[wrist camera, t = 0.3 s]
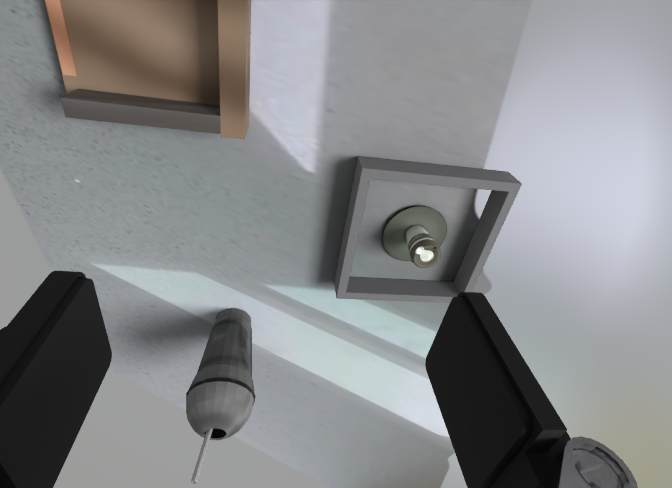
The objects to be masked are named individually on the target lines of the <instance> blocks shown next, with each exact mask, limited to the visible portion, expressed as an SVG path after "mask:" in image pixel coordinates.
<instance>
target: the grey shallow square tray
mask: <svg viewBox="0 0 672 488" xmlns="http://www.w3.org/2000/svg"><path fill="white" fill-rule="evenodd" d="M370 179H380V180H391V181H401V182H412V183H423V184H433V185H444V186H454V187H465V188H476V189H486V190H492V191H491V194H490V196H489V199H488V201H487V203H486V206H485V208H484V210H483V213H482V215H481V218H480V220H479V222H478V225H477V227H476V229H475V232H474V234H473V237H472V239H471V241H470V244H469V246H468V249H467V251H466V253H465V256H464V258H463V261H462V263H461V265H460V268H459V270H458V273H457V275H456V277H455V280H454V282H444V281H424V280H404V279H383V278H363V277H349V276H350V271H351V267H352V262H353V258H354V253H355V248H356V244H357V239H358V234H359V230H360V225H361V220H362V216H363V211H364V206H365V202H366V197H367V192H368V188H369V183H370ZM521 185H522V184H521V183H520V182H519V181H518V180H517V179H516V178H515V177H514V176H512V175H511V174H510V173H509V172H505V171H496V170H486V169H476V168H467V167H457V166H448V165H438V164H428V163H419V162H409V161H399V160H390V159H380V158H370V157H361V156H358V158H357V164H356V169H355V174H354V179H353V185H352V190H351V195H350V201H349V206H348V211H347V217H346V222H345V227H344V233H343V238H342V243H341V249H340V254H339V259H338V265H337V270H336V275H335V281H334V284H335V291H336V298H341V299H366V300H391V301H416V302H441V303H450V302H451V300H452V298H453V297H457V296H458V294H459V293H460V292H472V291H473V288H474V286H475V284H476V282H477V280H478V278H479V275H480V273H481V271H482V269H483V267H484V265H485V262H486V260H487V258H488V256H489V254H490V252H491V249H492V247H493V245H494V243H495V241H496V238H497V237H498V234H499V232H500V230H501V228H502V226H503V224H504V221H505V219H506V217H507V215H508V213H509V211H510V208H511V206H512V204H513V202H514V200H515V198H516V195H517V193H518V191H519V189H520V187H521Z"/></svg>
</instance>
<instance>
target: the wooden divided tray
mask: <svg viewBox="0 0 672 488" xmlns="http://www.w3.org/2000/svg"><path fill="white" fill-rule="evenodd" d="M44 1H45V5H46V9H47V14H48V18H49V22H50V26H51V30H52V34H53V39H54V43H55V47H56V51H57V55H58V59H59V64H60V68H61V72H62V76H63V80H64V84H65V88H66V93H67V95H65V96H63V97H61V101H62V105H63V109H64V113H65V117H69V118H78V119H88V120H97V121H106V122H116V123H125V124H134V125H143V126H153V127H162V128H171V129H181V130H190V131H199V132H209V133H218V134H221V137H229V138H238V139H245V137H246V133H247V129H248V126H249V86H250V31H251V0H44Z"/></svg>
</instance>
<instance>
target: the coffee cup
mask: <svg viewBox="0 0 672 488" xmlns="http://www.w3.org/2000/svg"><path fill="white" fill-rule="evenodd" d="M446 233H447V224H446V221H445V219H444V217H443V216H442V215H441V214H440V213H439V212H438V211H436V210H434V209H432V208H429V207H425V206H417V207H412V208H408V209H406V210H403V211H401V212H400V213H398V214H397V215H395V216H394V217H393V218H392V219H391V220H390V221H389V223H388V224H387V226H386V227H385V230H384V233H383V244H384V247H385V249H386V251H387V252H388V253H389V254H390V255H391V256H392V257H394V258H396V259H398V260H402V261H412V262H413V263H414V264H415V265H416V266H418V267H421V268H427V267H431V266H433V265H435V264H436V263H437V262H438V261H439V259H440V257H441V250H440V246H441V245H442V243H443V242H444V240H445V237H446Z"/></svg>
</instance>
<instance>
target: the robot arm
mask: <svg viewBox="0 0 672 488" xmlns="http://www.w3.org/2000/svg"><path fill="white" fill-rule="evenodd" d="M111 357H112V352H111V348H110V344H109V340H108V336H107V333H106V329H105V325H104V321H103V317H102V314H101V310H100V306H99V302H98V298H97V295H96V291H95V287H94V283H93V281H92V280H91V279H88V278H86V277H85V275H84V274H83V273H82V272H69V271H53V272H51V273H50V274H49V275H48V277H47V278H46V279H45V280H44V282H43V283H42V284H41V285H40V286H39V288H38V289H37V290H36V291H35V293H34V294H33V295H32V296H31V297H30V299H29V300H28V301H27V302H26V304H25V305H24V306H23V307H22V309H21V310H20V311H19V312H18V313H17V315H16V316H15V317H14V318H13V320H12V321H11V322H10V323H9V324H8V326H7V327H4V328H2V329H1V330H0V488H53V486H54V484H55V482H56V480H57V478H58V475H59V473H60V471H61V469H62V467H63V465H64V462H65V460H66V458H67V456H68V454H69V452H70V450H71V448H72V445H73V443H74V441H75V439H76V437H77V434H78V432H79V430H80V428H81V426H82V424H83V422H84V420H85V417H86V415H87V413H88V411H89V409H90V406H91V405H92V402H93V400H94V398H95V396H96V393H97V392H98V390H99V387H100V385H101V383H102V381H103V379H104V377H105V374H106V372H107V370H108V368H109V366H110V362H111ZM426 370H427V373H428V376H429V379H430V382H431V385H432V388H433V391H434V393H435V396H436V399H437V402H438V405H439V408H440V411H441V413H442V416H443V419H444V422H445V425H446V428H447V431H448V433H449V436H450V439H451V442H452V445H453V448H454V450H455V453H456V456H457V459H458V462H459V465H460V467H461V470H462V473H463V476H464V479H465V482H466V485H467V487H468V488H638V487H637V483H636V480H635V478H634V477H633V475H632V473H631V471H630V470H629V468H628V467H627V466H626V464H625V463H624V462H623V461H622V459H620V458H619V457H618V456H617V455H616V454H615V453H614V452H613V451H612V450H610V449H609V448H607V447H606V446H605V445H603V444H602V443H599V442H597V441H595V440H593V439H590V438H585V437H575V438H572V439H571V438H570V437H569V435H568V433H567V432H566V430H567V429H566V427H565V425H564V424H563V422H562V420H561V419H560V417H559V416H558V414H557V412H556V411H555V409H554V407H553V406H552V404H551V403H550V401H549V399H548V398H547V396H546V395H545V393H544V391H543V390H542V388H541V386H540V385H539V383H538V382H537V380H536V379H535V377H534V375H533V373H532V372H531V370H530V369H529V367H528V365H527V364H526V362H525V361H524V359H523V357H522V356H521V354H520V352H519V351H518V349H517V348H516V346H515V344H514V343H513V341H512V340H511V338H510V336H509V335H508V333H507V331H506V330H505V328H504V327H503V325H502V323H501V322H500V320H499V318H498V317H497V315H496V314H495V312H494V310H493V309H492V307H491V305H490V304H489V302H488V301H487V299H486V297H485V296H484V295H483V294H482V293H475V292H460V293H459V294H458V296H457V297H453V298H452V300H451V302H450V305H449V307H448V309H447V311H446V314H445V316H444V318H443V321H442V323H441V325H440V327H439V330H438V332H437V334H436V337H435V339H434V341H433V344H432V346H431V348H430V350H429V353H428V355H427V357H426Z"/></svg>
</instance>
